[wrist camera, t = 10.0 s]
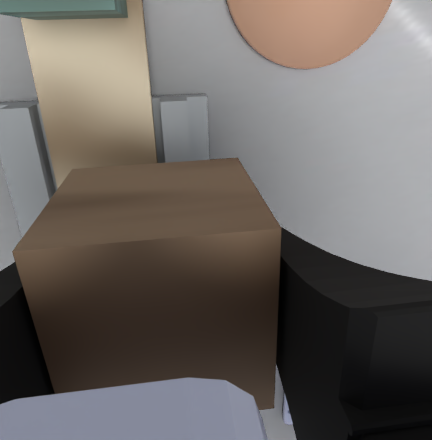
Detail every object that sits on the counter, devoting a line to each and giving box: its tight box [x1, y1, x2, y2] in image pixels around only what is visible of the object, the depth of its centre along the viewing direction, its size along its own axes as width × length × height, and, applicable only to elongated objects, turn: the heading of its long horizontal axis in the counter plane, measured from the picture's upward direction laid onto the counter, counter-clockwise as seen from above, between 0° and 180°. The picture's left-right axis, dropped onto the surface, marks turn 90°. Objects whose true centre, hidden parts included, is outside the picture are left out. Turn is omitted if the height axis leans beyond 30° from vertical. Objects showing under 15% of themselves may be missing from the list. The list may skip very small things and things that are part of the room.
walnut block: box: [12, 158, 281, 410], centre depth 11 cm, size 5×5×5 cm
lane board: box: [0, 94, 209, 238], centre depth 22 cm, size 20×10×2 cm, turn 2°
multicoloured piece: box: [0, 0, 158, 189], centre depth 16 cm, size 15×5×5 cm, turn 2°
